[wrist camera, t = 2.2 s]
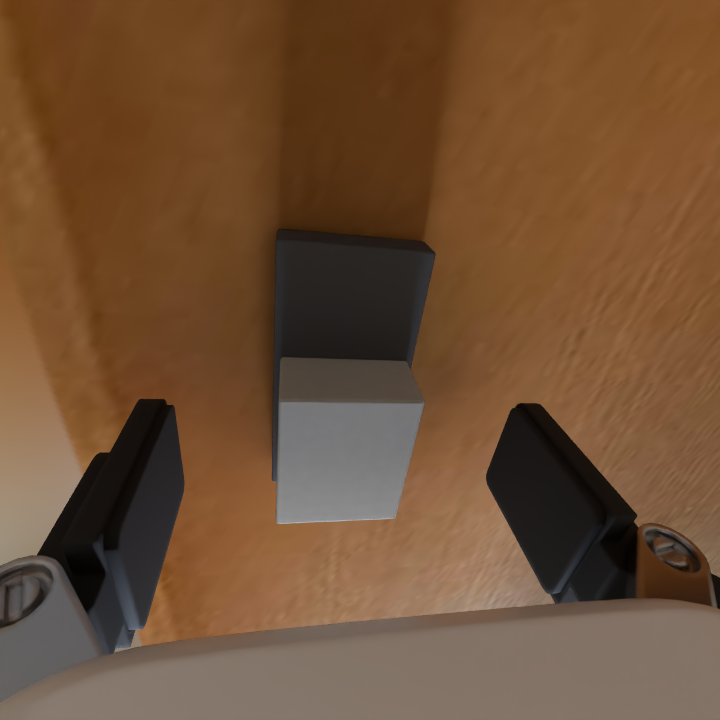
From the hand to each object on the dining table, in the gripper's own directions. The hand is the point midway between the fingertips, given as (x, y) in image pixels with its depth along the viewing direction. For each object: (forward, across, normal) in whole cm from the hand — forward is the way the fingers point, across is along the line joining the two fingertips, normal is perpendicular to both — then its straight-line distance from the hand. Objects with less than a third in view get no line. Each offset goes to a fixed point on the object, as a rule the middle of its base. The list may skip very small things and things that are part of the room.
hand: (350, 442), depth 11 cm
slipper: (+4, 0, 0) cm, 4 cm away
